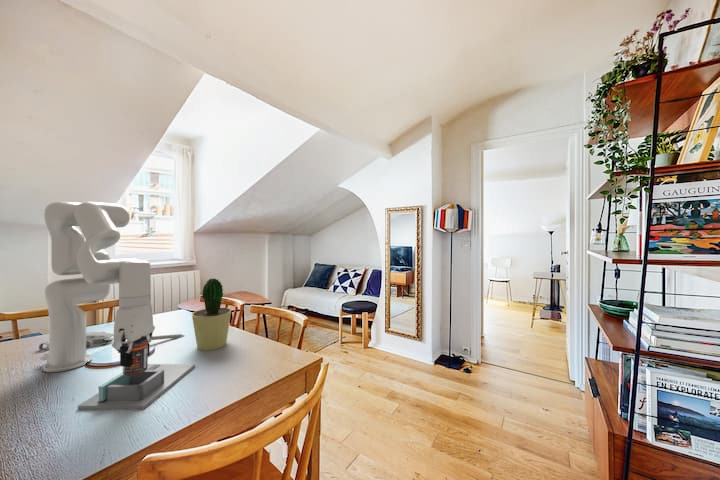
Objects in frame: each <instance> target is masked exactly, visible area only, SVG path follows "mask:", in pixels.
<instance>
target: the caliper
mask: <svg viewBox="0 0 720 480" xmlns="http://www.w3.org/2000/svg"><path fill="white" fill-rule="evenodd" d="M182 337H185V335H184V334H182V333H177V334H166V335H163V334H162V335H152V336H151V338H150V339H151V341H150V343H152V341H157V340H165V339H166V340H168V339H178V338H182Z"/></svg>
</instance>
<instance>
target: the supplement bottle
mask: <svg viewBox="0 0 720 480" xmlns="http://www.w3.org/2000/svg"><path fill="white" fill-rule="evenodd" d="M127 346H128V344H125V347H127ZM131 352H133V365H132V366H122V373H123V374H124V375H127V376H132V375H137V374H140V373H142V372H144V371H146V370H147V366H148V364H149V363H148V361H149V360H148V357H149V356H148V342H147V340H145V339H144V337H143V336H142V337H141V338H140V339H138V340H136V341H134V342H133V345H132V349H131Z"/></svg>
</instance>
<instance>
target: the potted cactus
mask: <svg viewBox="0 0 720 480" xmlns="http://www.w3.org/2000/svg"><path fill="white" fill-rule="evenodd" d="M204 283H205V284H204V285H203V287H202V290H201V292H200V294H199V296H200V297H201V299H203V300H201V302H202V303H203V305H204V308H202V309H199V310H195V311H193V312H192V313H191V317H192V324H193V330H194V336H195V343H196V347H197V349H198V350H200V351H213V350H217V349H220V348H223V347H225V346H226V345H227V341H228V334H229V329H230V328H229V327H230V321H231V315H232V308H229V307H221V306H223V302H222V300H223V297H225V296H226V293H225V292H224V286H223V284H222V281H220V280H219V279H217V278H209V279H207V280H206V281H204Z"/></svg>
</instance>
